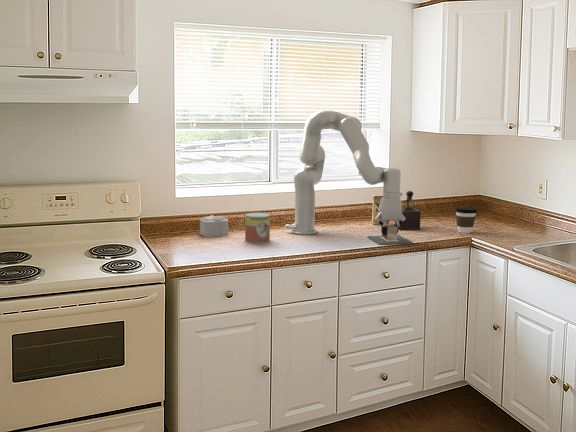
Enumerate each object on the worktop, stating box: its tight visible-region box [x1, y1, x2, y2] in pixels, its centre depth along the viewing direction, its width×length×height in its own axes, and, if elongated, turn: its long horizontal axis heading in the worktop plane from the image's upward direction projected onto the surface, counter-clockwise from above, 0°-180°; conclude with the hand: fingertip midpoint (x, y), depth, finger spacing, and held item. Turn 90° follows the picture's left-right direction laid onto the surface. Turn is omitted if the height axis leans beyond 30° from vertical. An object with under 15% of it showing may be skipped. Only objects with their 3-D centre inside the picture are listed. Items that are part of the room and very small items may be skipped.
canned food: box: [244, 212, 271, 244], centre depth 296 cm, size 11×11×12 cm
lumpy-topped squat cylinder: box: [199, 214, 229, 238], centre depth 309 cm, size 10×13×9 cm
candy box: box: [371, 194, 390, 226], centre depth 340 cm, size 9×4×15 cm, turn 87°
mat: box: [366, 234, 414, 246], centre depth 300 cm, size 16×16×1 cm
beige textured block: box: [381, 223, 398, 241], centre depth 300 cm, size 8×4×6 cm, turn 13°
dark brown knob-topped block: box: [398, 190, 422, 231], centre depth 332 cm, size 16×11×18 cm
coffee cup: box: [454, 206, 478, 234], centre depth 322 cm, size 11×11×12 cm
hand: (389, 234), depth 300 cm, fingers open, 5 cm apart
